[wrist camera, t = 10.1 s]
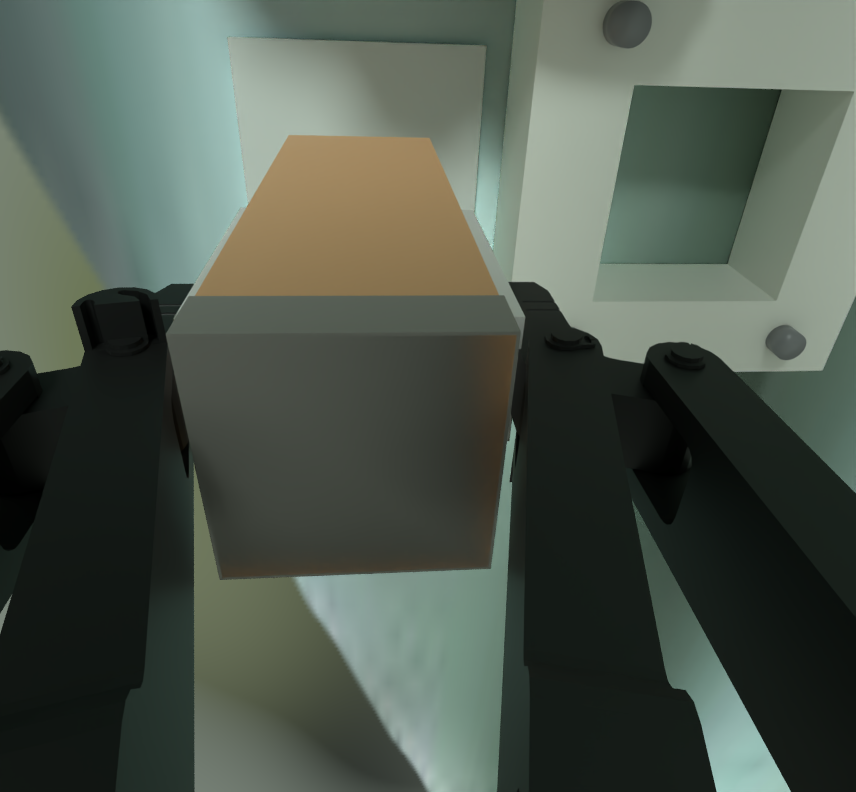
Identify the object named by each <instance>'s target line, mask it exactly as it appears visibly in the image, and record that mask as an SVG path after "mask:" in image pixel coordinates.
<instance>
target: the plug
mask: <svg viewBox="0 0 856 792" xmlns="http://www.w3.org/2000/svg"><path fill="white" fill-rule="evenodd" d="M520 334H521V331H520V329H519V326H518V324H517V322H516V320H515V318H514V316H513V313H512V311H511V309H510V307H509V305H508V302H507V300H506V298H505V296H504V295H499V294H498V291H497V289H496V287H495V285H494V282H493V280H492V278H491V276H490V273H489V271H488V269H487V267H486V264H485V262H484V260H483V258H482V255H481V253H480V251H479V248H478V246H477V244H476V242H475V239H474V237H473V235H472V233H471V230H470V228H469V226H468V224H467V221H466V219H465V217H464V215H463V212H462V210H461V208H460V206H459V203H458V201H457V199H456V197H455V194H454V192H453V190H452V187H451V185H450V183H449V181H448V178H447V176H446V174H445V172H444V169H443V167H442V165H441V163H440V160H439V158H438V156H437V154H436V151H435V149H434V147H433V145H432V142H431V140H430V138H417V137H367V136H317V135H288V137H287V139H286V141H285V142H284V144H283V146H282V147H281V149H280V151H279V153H278V154H277V156H276V158H275V159H274V161H273V163H272V165H271V166H270V168H269V170H268V171H267V173H266V175H265V177H264V178H263V180H262V182H261V183H260V185H259V187H258V189H257V190H256V192H255V194H254V195H253V197H252V199H251V201H250V202H249V204H248V206H247V207H246V209H245V211H244V212H243V214H242V216H241V218H240V219H239V221H238V223H237V224H236V226H235V228H234V230H233V231H232V233H231V235H230V236H229V238H228V240H227V242H226V243H225V245H224V247H223V248H222V250H221V252H220V254H219V255H218V257H217V259H216V260H215V262H214V264H213V266H212V267H211V269H210V271H209V272H208V274H207V276H206V278H205V279H204V281H203V283H202V284H201V286H200V288H199V290H198V291H197V293H196V295H195V296H188V298H187V300H186V301H185V303H184V305H183V306H182V308H181V310H180V311H179V313H178V315H177V316H176V318H175V319H174V321H173V323H172V324H171V326H170V328H169V329H168V331H167V333H166V338H167V343H168V347H169V352H170V356H171V361H172V365H173V370H174V375H175V379H176V384H177V388H178V393H179V397H180V402H181V406H182V411H183V415H184V420H185V424H186V429H187V433H188V438H189V443H190V447H191V452H192V456H193V461H194V465H195V470H196V474H197V479H198V483H199V488H200V492H201V497H202V501H203V506H204V510H205V515H206V520H207V524H208V528H209V533H210V537H211V542H212V546H213V551H214V556H215V560H216V565H217V569H218V573H219V578H220V580H225V579H226V580H227V579H251V578H275V577H300V576H324V575H348V574H372V573H397V572H421V571H445V570H469V569H491V562H492V554H493V546H494V538H495V530H496V522H497V515H498V507H499V499H500V491H501V483H502V475H503V468H504V460H505V452H506V444H507V436H508V428H509V421H510V413H511V405H512V397H513V389H514V381H515V373H516V366H517V358H518V350H519V342H520Z"/></svg>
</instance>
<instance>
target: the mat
mask: <svg viewBox="0 0 856 792" xmlns="http://www.w3.org/2000/svg"><path fill="white" fill-rule="evenodd" d="M227 39H228V47H229V55H230V63H231V71H232V79H233V87H234V95H235V103H236V111H237V119H238V127H239V135H240V143H241V151H242V159H243V167H244V175H245V183H246V191H247V199H248V204H249V202H250V201H251V199H252V197H253V195H254V194H255V192H256V190H257V189H258V187H259V185H260V183H261V182H262V180H263V178H264V177H265V175H266V173H267V171H268V170H269V168H270V166H271V165H272V163H273V161H274V159H275V158H276V156H277V154H278V153H279V151H280V149H281V147H282V146H283V144H284V142H285V141H286V139H287V137H288V135H317V136H367V137H417V138H430V140H431V142H432V145H433V147H434V149H435V151H436V154H437V156H438V158H439V160H440V163H441V165H442V167H443V169H444V172H445V174H446V176H447V178H448V181H449V183H450V185H451V187H452V190H453V192H454V194H455V197H456V199H457V201H458V203H459V206H460V208H461V210H473V212H474V209H475V196H476V183H477V169H478V156H479V142H480V129H481V115H482V102H483V88H484V75H485V61H486V48H487V46H486V45H467V44H436V43H406V42H376V41H346V40H316V39H286V38H256V37H227Z"/></svg>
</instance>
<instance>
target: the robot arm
mask: <svg viewBox="0 0 856 792" xmlns="http://www.w3.org/2000/svg"><path fill="white" fill-rule="evenodd" d="M245 209H246V208H240V210H239V211H238V213H237V215H236V216H235V218H234V219H233V221H232V223H231V224H230V226H229V228H228V229H227V231H226V233H225V234H224V236H223V238H222V239H221V241H220V242H219V244H218V246H217V247H216V249H215V251H214V252H213V254H212V256H211V257H210V259H209V261H208V262H207V264H206V265H205V267H204V269H203V270H202V272H201V274H200V275H199V277H198V279H197V280H196V282H195V284H170V285H169V286H167V287H165V288H163V289H162V290H160V291H158V292H156V293H153V292H151V291H149V290H147V289H141V288H135V287H133V288H114V289H107V290H102V291H99V292H95V293H92V294H88V295H87V296H84V297H82V298H81V299H79V300H77V301H76V302H75V303H74V304H73V305H72V307H71V308H72V311H73V314H74V317H75V321H76V324H77V327H78V330H79V334H80V337H81V340H82V344H83V347H84V350H85V353H84V356H83V359H82V363H81V366H78V367H73V368H68V369H62V370H56V371H51V372H44V373H38V374H37V373H36V370H35V368H34V365H33V362H32V360H31V358H30V356H29V355H27V354H24V353H22V352H17V351H7V350H5V351H0V613H1V611H2V610H3V608H4V606H5V604H6V603H7V601H8V600H9V598H10V596H11V595H12V597H11V600H10V603H9V607H8V610H7V614H6V617H5V620H4V623H3V627H2V630H1V634H0V792H194V476H193V475H194V474H193V473H194V472H193V471H194V468H193V467H194V461H193V456H192V452H191V447H190V443H189V438H188V433H187V429H186V424H185V420H184V415H183V411H182V406H181V402H180V397H179V393H178V388H177V384H176V379H175V375H174V370H173V365H172V361H171V356H170V352H169V347H168V343H167V338H166V333H167V331H168V329H169V328H170V326H171V324H172V323H173V321H174V319H175V318H176V316H177V315H178V313H179V311H180V310H181V308H182V306H183V305H184V303H185V301H186V300H187V298H188V296H195V295H196V293H197V291H198V290H199V288H200V286H201V284H202V283H203V281H204V279H205V278H206V276H207V274H208V272H209V271H210V269H211V267H212V266H213V264H214V262H215V260H216V259H217V257H218V255H219V254H220V252H221V250H222V248H223V247H224V245H225V243H226V242H227V240H228V238H229V236H230V235H231V233H232V231H233V230H234V228H235V226H236V224H237V223H238V221H239V219H240V218H241V216H242V214H243V212H244V211H245ZM462 212H463V215H464V217H465V219H466V221H467V224H468V226H469V228H470V230H471V233H472V235H473V237H474V239H475V242H476V244H477V246H478V248H479V251H480V253H481V255H482V258H483V260H484V262H485V264H486V267H487V269H488V271H489V273H490V276H491V278H492V280H493V282H494V285H495V287H496V289H497V291H498V294H499V295H504V296H505V298H506V300H507V302H508V305H509V307H510V309H511V311H512V313H513V316H514V318H515V320H516V322H517V324H518V326H519V329H520V331H521V334H520V342H519V350H518V358H517V366H516V373H515V381H514V389H513V397H512V405H511V413H510V421H509V428H508V436H507V441H509V438H510V431H511V423H512V419H513V422H514V425H515V427H516V430H517V431H516V439H515V446H514V453H513V461H512V468H511V475H510V482H512V498H511V518H510V539H509V560H508V580H507V601H506V622H505V642H504V663H503V684H502V704H501V725H500V745H499V766H498V787H497V792H716V787H715V783H714V779H713V774H712V770H711V766H710V761H709V757H708V753H707V748H706V744H705V740H704V735H703V731H702V727H701V723H700V720H699V717H698V714H697V711H696V707H695V704H694V702H693V700H692V699H691V697H690V696H689V694H688V693H687V692H686V690H681V689H674V688H672V687H671V685H670V684H669V682H668V679H667V676H666V672H665V668H664V662H663V657H662V652H661V647H660V642H659V637H658V632H657V627H656V621H655V616H654V611H653V606H652V601H651V596H650V591H649V586H648V580H647V575H646V570H645V565H644V560H643V555H642V550H641V545H640V539H639V534H638V529H637V524H636V519H635V514H634V509H633V503H632V500H633V502H634V504H635V505H636V507H637V509H638V511H639V513H640V515H641V516H642V518H643V520H644V522H645V524H646V526H647V528H648V529H649V531H650V533H651V535H652V537H653V539H654V540H655V542H656V544H657V546H658V548H659V550H660V551H661V553H662V555H663V557H664V559H665V561H666V562H667V564H668V566H669V568H670V570H671V572H672V573H673V575H674V577H675V579H676V581H677V583H678V585H679V586H680V588H681V590H682V592H683V594H684V596H685V597H686V599H687V601H688V603H689V605H690V607H691V608H692V610H693V612H694V614H695V616H696V618H697V619H698V621H699V623H700V625H701V627H702V629H703V630H704V632H705V634H706V636H707V638H708V640H709V642H710V643H711V645H712V647H713V649H714V651H715V653H716V654H717V656H718V658H719V660H720V662H721V664H722V665H723V667H724V669H725V671H726V673H727V675H728V676H729V678H730V680H731V682H732V684H733V686H734V687H735V689H736V691H737V693H738V695H739V697H740V699H741V700H742V702H743V704H744V706H745V708H746V710H747V711H748V713H749V715H750V717H751V719H752V721H753V722H754V724H755V726H756V728H757V730H758V732H759V733H760V735H761V737H762V739H763V741H764V743H765V744H766V746H767V748H768V750H769V752H770V754H771V756H772V757H773V759H774V761H775V763H776V765H777V767H778V768H779V770H780V772H781V774H782V776H783V778H784V779H785V781H786V783H787V785H788V787H789V789H790V790H791V792H856V493H855V492H854V491H853V490H852V489H851V488H850V487H849V486H848V485H847V484H846V483H845V482H844V481H843V480H842V479H841V478H840V477H839V476H838V475H837V474H836V473H835V472H834V471H833V470H832V469H831V468H830V467H829V466H828V465H827V464H826V463H825V462H824V461H823V460H822V459H821V458H820V457H819V456H818V455H817V454H816V453H815V452H814V451H813V450H812V449H811V448H810V447H809V446H808V445H807V444H806V443H805V442H804V441H803V440H802V439H801V438H800V437H799V436H798V435H797V434H796V433H795V432H794V431H793V430H792V429H791V428H790V427H789V426H788V425H787V424H786V423H785V422H784V421H783V420H782V419H781V418H780V417H779V416H778V415H777V414H776V413H775V412H774V411H773V410H772V409H771V408H770V407H769V406H768V405H767V404H766V403H765V402H764V401H763V400H762V399H761V398H760V397H759V396H758V395H757V394H756V393H755V392H754V391H753V390H752V389H751V388H750V387H749V386H748V385H746V384H745V383H744V382H743V381H742V380H741V379H740V378H739V377H738V376H737V375H736V374H735V373H734V372H733V371H732V370H731V369H730V368H729V367H728V366H727V365H726V364H725V363H724V362H723V361H722V360H721V359H720V358H719V357H718V356H716V355H715V354H713V353H712V352H710V351H708V350H705V349H703V348H701V347H700V346H698V345H695V344H692V343H691V345H690V344H689V343H687V342H679V343H677V342H665V343H657V344H655V345H653V346H651V347H649V349H648V351H647V353H646V357H645V361H644V364H643V363H636V362H630V361H623V360H618V359H613V358H609V357H606V356H604V355H603V350H602V345H601V344H600V342H599V340H598V339H597V338H595V337H594V336H592V335H591V334H589V333H587V332H584V331H581V330H579V329H575V328H571V327H570V325H569V324H568V322H567V320H566V319H565V317H564V315H563V314H562V312H561V311H560V309H559V307H558V306H557V304H556V303H555V301H554V299H553V298H552V296H551V294H550V293H549V291H548V290H546V289H545V288H543V287H541V286H540V285H538V284H537V283H535V282H508V281H507V279H506V277H505V275H504V273H503V271H502V269H501V267H500V265H499V263H498V261H497V259H496V257H495V255H494V252H493V250H492V248H491V246H490V244H489V242H488V240H487V238H486V236H485V234H484V232H483V230H482V228H481V226H480V224H479V222H478V220H477V218H476V216H475V214H474V212H473V210H462Z"/></svg>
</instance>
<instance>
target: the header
mask: <svg viewBox="0 0 856 792" xmlns="http://www.w3.org/2000/svg"><path fill="white" fill-rule="evenodd" d="M634 85H647V86H683V87H718V88H754V89H782V91H781V94H780V97H779V100H778V104H777V107H776V110H775V113H774V116H773V120H772V123H771V126H770V129H769V132H768V136H767V139H766V142H765V145H764V148H763V152H762V155H761V158H760V161H759V164H758V168H757V171H756V174H755V177H754V180H753V184H752V187H751V190H750V193H749V196H748V200H747V203H746V206H745V209H744V212H743V216H742V219H741V222H740V225H739V228H738V232H737V235H736V238H735V241H734V244H733V248H732V251H731V254H730V257H729V260H728V264H600V259H601V254H602V249H603V244H604V239H605V234H606V229H607V223H608V218H609V213H610V208H611V203H612V198H613V192H614V187H615V182H616V177H617V172H618V167H619V162H620V156H621V151H622V146H623V141H624V136H625V131H626V126H627V120H628V115H629V110H630V105H631V100H632V95H633V89H634ZM493 252H494V255H495V257H496V259H497V261H498V263H499V265H500V267H501V269H502V271H503V273H504V275H505V277H506V279H507V281H508V282H535V283H537V284H538V285H540V286H541V287H543V288H545V289H546V290H548V291H549V293H550V294H551V296H552V298H553V299H554V301H555V303H556V304H557V306H558V307H559V309H560V311H561V312H562V314H563V315H564V317H565V319H566V320H567V322H568V324H569V325H570V327H571V328H575V329H579V330H581V331H584V332H587V333H589V334H591V335H592V336H594V337H595V338H597V339H598V340H599V342H600V344H601V345H602V350H603V355H604V356H606V357H609V358H613V359H618V360H623V361H630V362H636V363H643V364H644V361H645V357H646V353H647V351H648V349H649V347H651V346H653V345H655V344H657V343H665V342H677V343H679V342H687V343H689V344H690V345H691V343H692V344H695V345H698V346H700V347H701V348H703V349H705V350H708V351H710V352H712V353H713V354H715V355H716V356H718V357H719V358H720V359H721V360H722V361H723V362H724V363H725V364H726V365H727V366H728V367H729V368H730V369H731V370H732V371H733V372H761V371H822V370H823V368H824V366H825V364H826V361H827V359H828V357H829V355H830V352H831V350H832V348H833V346H834V343H835V341H836V339H837V337H838V334H839V332H840V330H841V328H842V325H843V323H844V321H845V319H846V316H847V314H848V312H849V310H850V307H851V305H852V303H853V301H854V298H855V296H856V0H516V10H515V21H514V32H513V42H512V53H511V64H510V74H509V85H508V96H507V106H506V117H505V127H504V138H503V149H502V159H501V170H500V181H499V191H498V202H497V213H496V223H495V234H494V245H493Z"/></svg>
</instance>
